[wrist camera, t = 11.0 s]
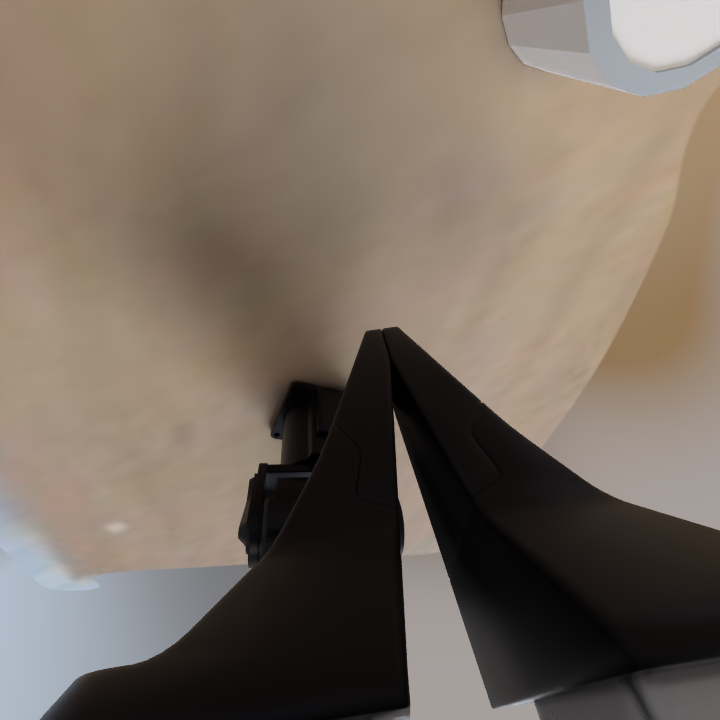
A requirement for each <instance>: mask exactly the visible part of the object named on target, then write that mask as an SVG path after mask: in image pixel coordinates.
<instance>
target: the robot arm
mask: <svg viewBox="0 0 720 720" xmlns="http://www.w3.org/2000/svg"><path fill="white" fill-rule="evenodd" d="M295 388H298V389H295ZM393 408H394V412H395V415H396V418H397V421H398V424H399V427H400V431H401V434H402V437H403V440H404V443H405V446H406V449H407V452H408V455H409V458H410V461H411V464H412V467H413V470H414V473H415V476H416V479H417V482H418V485H419V488H420V491H421V494H422V497H423V500H424V503H425V506H426V509H427V512H428V515H429V518H430V521H431V525H432V528H433V531H434V534H435V537H436V540H437V543H438V546H439V549H440V552H441V555H442V558H443V561H444V564H445V567H446V570H447V573H448V576H449V578H450V582H451V585H452V588H453V591H454V594H455V597H456V600H457V604H458V607H459V609H460V613H461V616H462V619H463V622H464V625H465V628H466V631H467V634H468V637H469V640H470V643H471V646H472V649H473V652H474V654H475V658H476V661H477V664H478V667H479V670H480V673H481V676H482V679H483V682H484V685H485V688H486V691H487V694H488V697H489V700H490V703H491V706H492V708H493V709H495V708H501V707H507V706H514V705H520V704H526V703H532V702H534V703H535V706H536V709H537V712H538V714H539V718H540V720H720V531H719V530H716V529H713V528H710V527H706V526H703V525H700V524H696V523H693V522H690V521H687V520H683V519H680V518H676V517H673V516H670V515H667V514H664V513H660V512H657V511H653V510H650V509H647V508H644V507H640V506H637V505H634V504H630V503H628V502H624V501H622V500H620V499H617V498H615V497H613V496H610V495H609V494H607V493H605V492H603V491H601V490H599V489H598V488H596V487H594V486H592V485H591V484H590V483H588V482H586V481H585V480H583V479H582V478H581V477H579V476H578V475H577V474H575V473H573V472H572V471H571V470H570V469H568V468H567V467H565V466H564V465H563V464H561V463H560V462H558V461H557V460H555V459H554V458H553V457H552V456H550V455H549V454H547V453H546V452H545V451H543V450H542V449H540V448H539V447H538V446H536V445H535V444H533V443H532V442H531V441H529V440H528V439H527V438H525V437H524V436H523V435H521V434H520V433H519V432H517V431H516V430H515V429H513V428H512V427H511V426H510V425H508V424H507V423H506V422H505V421H504V420H502V419H501V418H500V417H499V416H498V415H497V414H495V413H494V412H493V411H492V410H491V409H490V408H489V407H487V406H486V405H485V404H484V403H481V401H480V400H479V399H478V398H477V397H476V396H475V395H474V394H473V393H471V392H470V391H469V390H468V389H467V388H466V387H465V386H464V385H462V384H461V383H460V382H459V381H458V380H457V379H456V378H455V377H453V376H452V375H451V374H450V373H449V372H448V371H447V370H446V369H444V368H443V367H442V366H441V365H440V364H439V363H438V362H437V361H435V360H434V359H433V358H432V357H431V356H430V355H429V354H428V353H426V352H425V351H424V350H423V349H422V348H421V347H420V346H419V345H418V344H416V343H415V342H414V341H413V340H412V339H411V338H410V337H409V336H407V335H406V334H405V333H404V332H403V331H402V330H401V329H400V328H398V327H390V328H384V329H383V330H382V331H381V330H380V329H377V330H370V331H366V332H365V334H364V337H363V340H362V343H361V346H360V348H359V351H358V354H357V357H356V359H355V362H354V365H353V368H352V370H351V373H350V376H349V379H348V382H347V384H346V387H345V390H344V392H341V391H337V390H333V389H328V388H324V387H320V386H315V385H311V384H307V383H302V382H293V383H291V385H290V387H289V389H288V392H287V394H286V396H285V399H284V401H283V403H282V406H281V408H280V410H279V413H278V415H277V417H276V420H275V422H274V425H273V427H272V429H271V437H273V438H275V439H281V440H282V453H281V464H279V465H268V463H259V469H258V474H255V477H254V478H252V479H250V481H249V489H248V496H247V502H246V506H245V509H244V513H243V516H242V519H241V523H240V526H239V531H238V538H239V540H240V541H241V542H242V543H243V544H244V545H245V546H246V554H248V566H249V568H252V569H251V570H250V571H249V572H248V573H247V574H246V575H245V576H244V577H243V578H242V579H241V580H240V581H239V582H238V583H237V584H236V585H235V586H234V587H233V588H232V589H231V590H230V591H229V592H228V593H227V594H226V595H225V596H224V597H223V598H222V599H221V600H220V601H219V602H218V603H217V604H216V605H215V606H214V607H213V608H212V609H211V610H210V611H209V612H208V613H207V614H206V615H205V616H204V617H203V618H202V619H201V620H200V621H199V622H198V623H197V624H196V625H195V626H194V627H193V628H192V629H191V630H190V631H189V632H188V633H187V634H185V635H184V636H183V637H182V638H181V639H180V640H179V641H178V642H176V643H175V644H174V645H172V646H171V647H169V648H168V649H166V650H165V651H164V652H162V653H160V654H158V655H156V656H155V657H152V658H150V659H149V660H146V661H143V662H140V663H137V664H133V665H126V666H120V667H114V668H108V669H103V670H99V671H95V672H91V673H88V674H85V675H83V676H81V677H79V678H78V679H76V680H75V681H74V682H73V683H72V684H71V686H70V687H69V688H68V689H67V690H66V691H65V692H64V693H63V694H62V696H61V697H60V698H59V699H58V700H57V701H56V702H55V703H54V704H53V705H52V706H51V708H50V709H49V710H48V711H47V712H46V713H45V714H44V715H43V717H42V718H41V719H40V720H410V694H409V683H408V669H407V651H406V633H405V617H404V616H405V615H404V598H403V580H402V561H401V555H402V552H403V547H404V521H403V514H402V509H401V505H400V502H399V499H398V488H397V469H396V451H395V432H394V414H393Z"/></svg>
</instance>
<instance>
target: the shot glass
mask: <svg viewBox="0 0 720 720" xmlns="http://www.w3.org/2000/svg"><path fill="white" fill-rule="evenodd" d="M502 20H503V24H504V28H505V32H506V36H507V40H508V44H509V46H510V47H511V49H512V50H513V51H514V53H515V54H516V55H517V56H518V58H519V59H520V60H521V61H522V63H523V64H525V65H528V66H531V67H534V68H537V69H540V70H543V71H546V72H550V73H554V74H558V75H562V76H565V77H569V78H573V79H577V80H581V81H584V82H588V83H592V84H596V85H600V86H604V87H607V88H611V89H615V90H619V91H623V92H626V93H630V94H634V95H638V96H642V97H645V96H650V95H655V94H660V93H664V92H669V91H674V90H678V89H683V88H685V87H687V86H688V85H690V84H691V83H693V82H695V81H696V80H698V79H699V78H701V77H703V76H704V75H706V74H707V73H709V72H711V71H712V70H714V69H716V68H717V67H719V66H720V0H503V5H502Z"/></svg>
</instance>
